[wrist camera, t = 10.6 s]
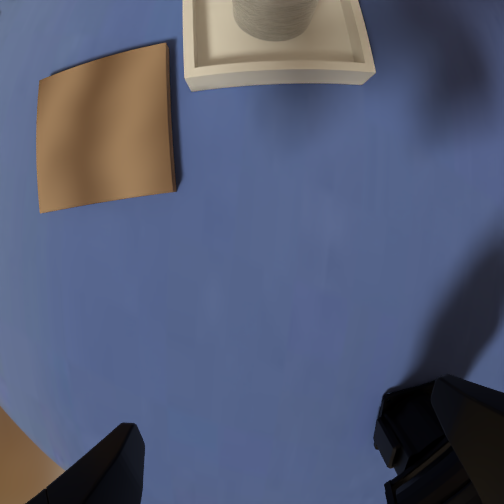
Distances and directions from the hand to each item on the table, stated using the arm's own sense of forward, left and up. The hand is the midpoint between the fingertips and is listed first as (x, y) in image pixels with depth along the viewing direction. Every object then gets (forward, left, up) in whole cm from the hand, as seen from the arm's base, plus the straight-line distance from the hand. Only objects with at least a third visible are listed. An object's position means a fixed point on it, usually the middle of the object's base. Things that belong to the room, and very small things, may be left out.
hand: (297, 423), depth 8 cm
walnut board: (+10, -12, -13) cm, 20 cm away
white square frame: (-2, -19, -13) cm, 23 cm away
